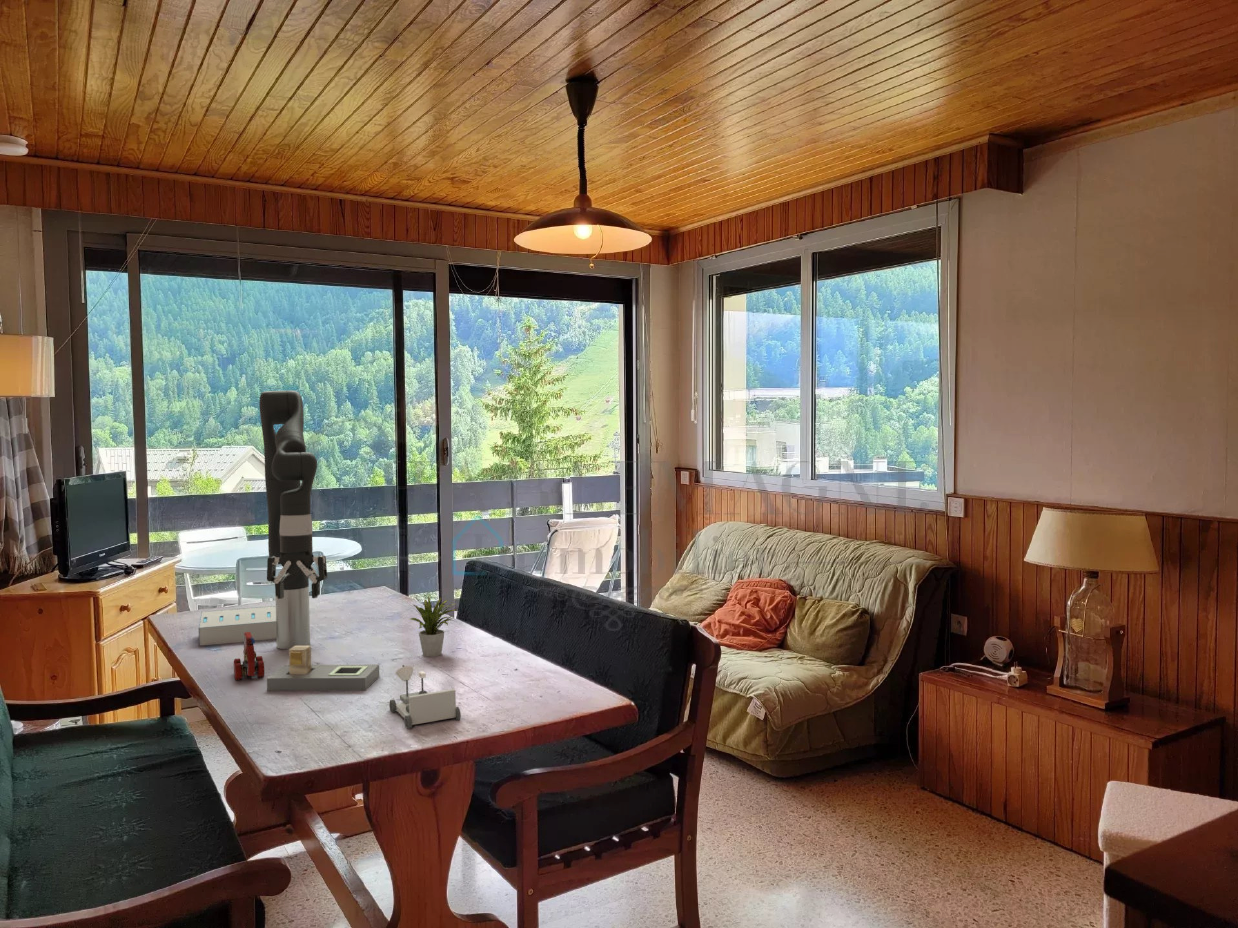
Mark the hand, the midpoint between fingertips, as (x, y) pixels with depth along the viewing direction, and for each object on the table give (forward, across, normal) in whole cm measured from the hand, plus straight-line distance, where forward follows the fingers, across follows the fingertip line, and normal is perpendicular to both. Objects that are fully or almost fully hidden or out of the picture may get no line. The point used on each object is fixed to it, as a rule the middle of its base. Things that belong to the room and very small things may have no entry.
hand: (297, 598), depth 223 cm
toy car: (+23, -36, +22) cm, 48 cm away
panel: (+22, -6, -1) cm, 22 cm away
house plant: (+21, -27, -27) cm, 43 cm away
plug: (+21, 0, -1) cm, 21 cm away
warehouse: (+20, +33, -51) cm, 64 cm away
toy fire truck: (+21, +16, -8) cm, 28 cm away
